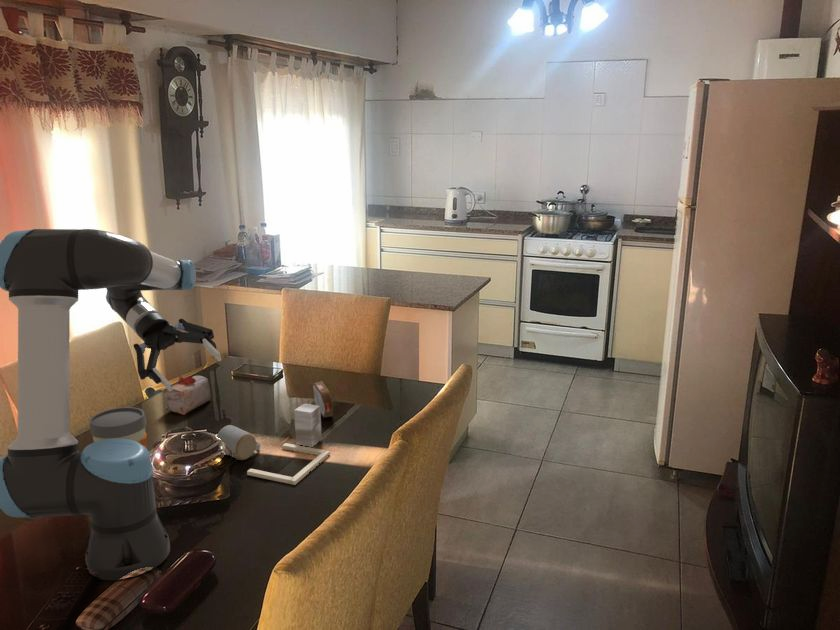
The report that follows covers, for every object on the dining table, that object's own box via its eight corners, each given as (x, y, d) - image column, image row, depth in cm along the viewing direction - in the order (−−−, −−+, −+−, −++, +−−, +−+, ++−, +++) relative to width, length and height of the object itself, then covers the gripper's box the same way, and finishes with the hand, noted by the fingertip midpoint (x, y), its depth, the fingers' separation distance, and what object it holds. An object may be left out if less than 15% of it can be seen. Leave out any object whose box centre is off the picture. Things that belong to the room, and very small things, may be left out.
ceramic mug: (237, 466, 168) (236, 437, 166) (215, 458, 172) (213, 430, 171) (268, 450, 177) (266, 423, 175) (246, 443, 181) (244, 417, 179)
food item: (184, 417, 198) (181, 386, 195) (163, 413, 201) (159, 382, 198) (213, 401, 210) (211, 371, 208) (193, 398, 213) (190, 368, 211)
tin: (334, 420, 196) (333, 393, 194) (323, 422, 195) (322, 395, 193) (322, 402, 209) (321, 377, 207) (312, 404, 208) (311, 378, 206)
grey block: (312, 447, 178) (310, 412, 176) (295, 444, 180) (294, 410, 178) (321, 440, 183) (320, 405, 180) (305, 437, 185) (304, 403, 182)
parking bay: (295, 485, 159) (294, 481, 159) (247, 474, 164) (247, 471, 163) (330, 454, 174) (329, 451, 174) (285, 446, 179) (285, 442, 179)
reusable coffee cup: (91, 489, 157) (83, 430, 153) (101, 465, 169) (93, 409, 165) (148, 482, 160) (142, 424, 156) (154, 459, 172) (148, 404, 168)
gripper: (194, 310, 179) (241, 355, 170) (106, 359, 167) (151, 410, 157) (188, 290, 174) (236, 335, 164) (97, 339, 161) (143, 391, 151)
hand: (195, 372), depth 161 cm, fingers open, 13 cm apart
